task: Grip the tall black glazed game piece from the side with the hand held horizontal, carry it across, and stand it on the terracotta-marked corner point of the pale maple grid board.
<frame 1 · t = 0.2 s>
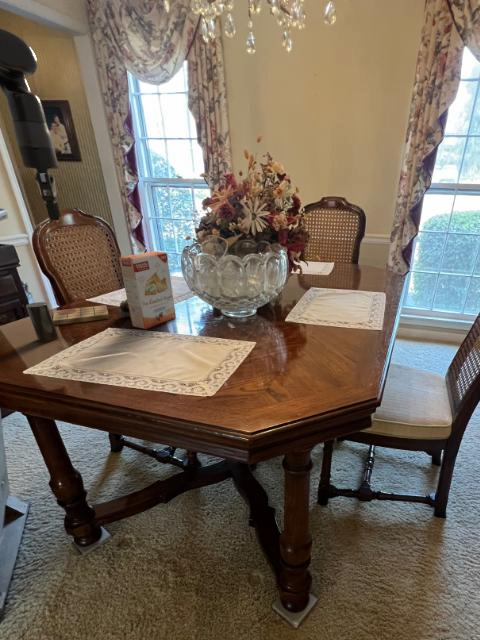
hand: (55, 218, 101), 31 cm above the table, tool pointing down, fingers open, 8 cm apart
grid board: (82, 316, 127), on the table
bison figurine: (139, 317, 127), on the table
black piece: (48, 338, 109), on the table
cracker box: (155, 323, 123), on the table
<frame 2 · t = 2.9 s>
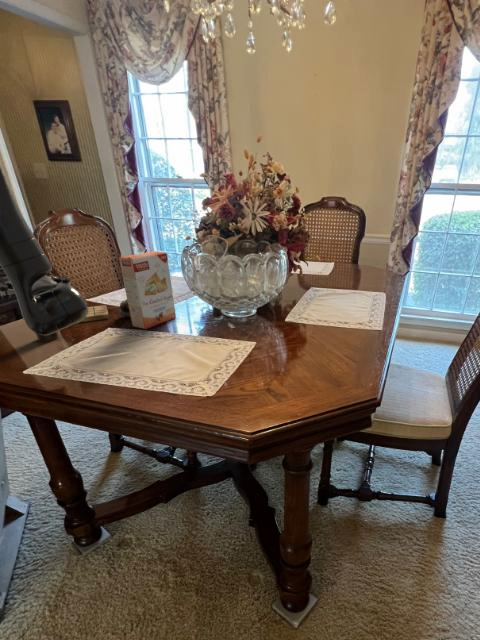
hand: (31, 281, 93), 18 cm above the table, tool horizontal, fingers open, 8 cm apart
nothing on the table moved.
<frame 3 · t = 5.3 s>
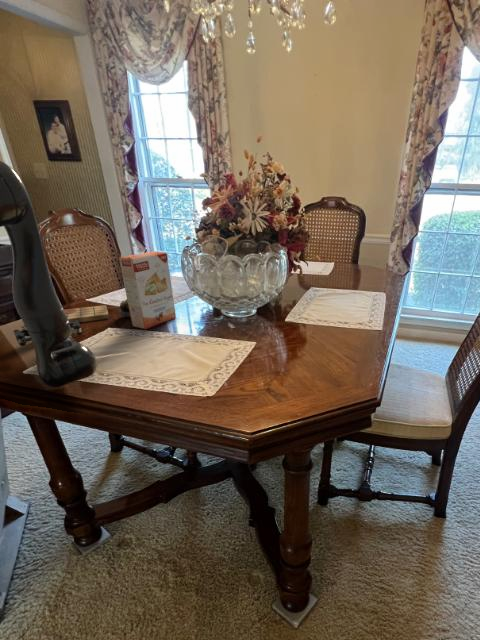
hand: (45, 324, 100), 6 cm above the table, tool horizontal, fingers open, 8 cm apart
nothing on the table moved.
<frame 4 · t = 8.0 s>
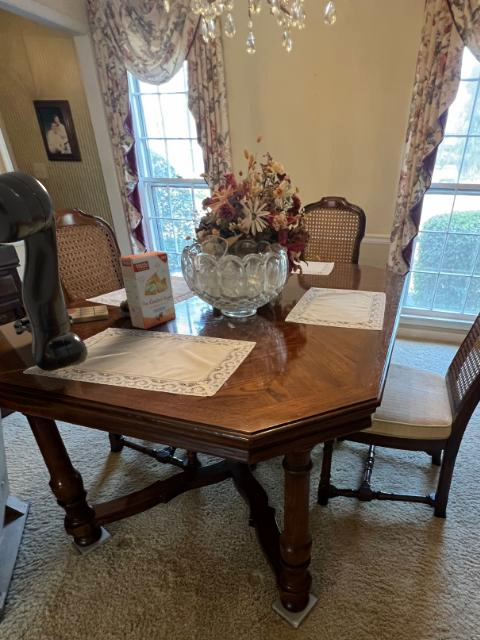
hand: (40, 316, 108), 6 cm above the table, tool horizontal, fingers closed on black piece, 5 cm apart
black piece: (48, 338, 109), on the table, touching gripper
everything else where it was.
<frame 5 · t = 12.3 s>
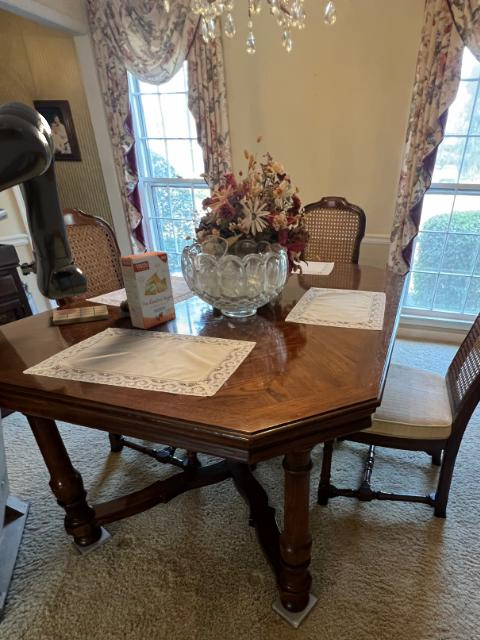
hand: (44, 263, 115), 18 cm above the table, tool horizontal, fingers closed on black piece, 5 cm apart
black piece: (52, 285, 116), point 12 cm above the table, touching gripper
everything else where it was.
when the fingers open (8 cm above the table, at t = 16.5 s): black piece stays where it is, resting on grid board.
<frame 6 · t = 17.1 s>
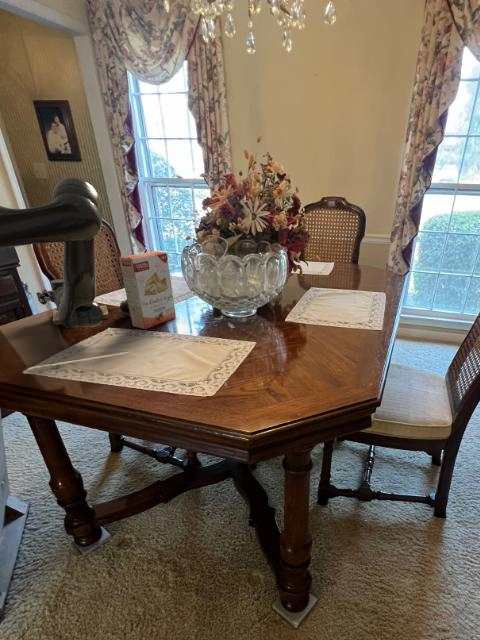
hand: (60, 290, 125), 8 cm above the table, tool horizontal, fingers open, 8 cm apart
black piece: (67, 311, 127), point 2 cm above the table, touching grid board
everything else where it was.
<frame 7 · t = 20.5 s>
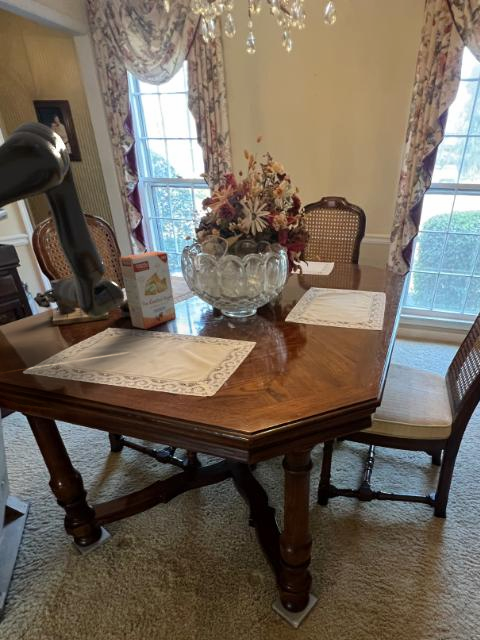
hand: (52, 289, 114), 11 cm above the table, tool horizontal, fingers open, 8 cm apart
nothing on the table moved.
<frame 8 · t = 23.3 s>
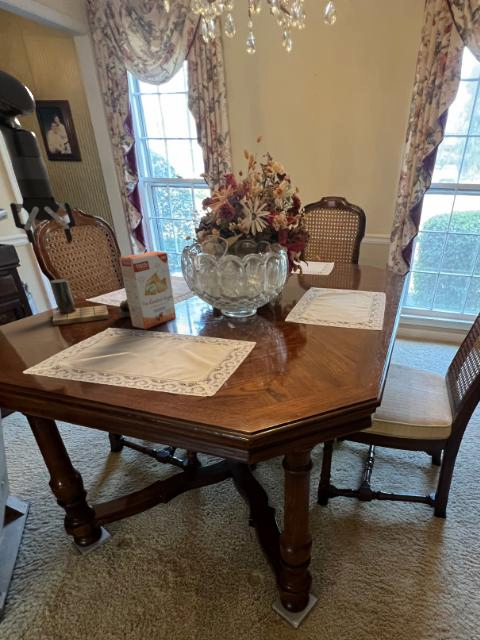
hand: (52, 244, 107), 24 cm above the table, tool pointing down, fingers open, 8 cm apart
nothing on the table moved.
at the end: black piece 0.1 cm from the target spot on the grid board, point 1.6 cm above the grid board's base; black piece tilted 0°; the gripper is holding nothing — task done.
